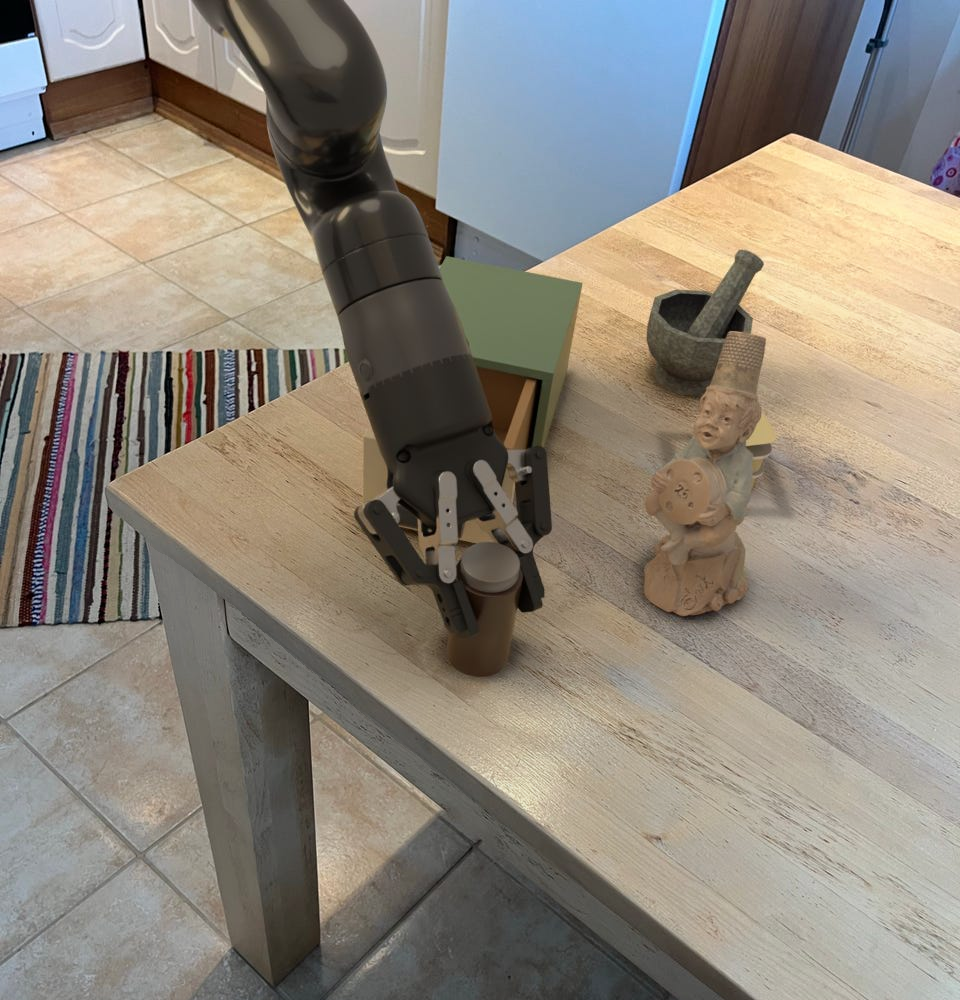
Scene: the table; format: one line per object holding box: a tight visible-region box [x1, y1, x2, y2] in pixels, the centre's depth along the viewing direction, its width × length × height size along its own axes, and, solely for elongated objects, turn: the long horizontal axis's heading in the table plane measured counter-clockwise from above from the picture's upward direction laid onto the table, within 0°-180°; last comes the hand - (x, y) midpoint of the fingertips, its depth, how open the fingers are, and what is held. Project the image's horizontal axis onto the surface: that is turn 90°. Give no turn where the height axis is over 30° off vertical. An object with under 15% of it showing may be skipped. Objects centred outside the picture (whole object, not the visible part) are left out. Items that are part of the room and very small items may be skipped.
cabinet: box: [439, 256, 583, 449], centre depth 86 cm, size 16×13×10 cm
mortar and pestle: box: [645, 249, 765, 397], centre depth 92 cm, size 11×9×12 cm
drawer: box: [362, 366, 539, 544], centre depth 76 cm, size 19×11×8 cm, turn 167°
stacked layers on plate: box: [745, 409, 777, 490], centre depth 84 cm, size 10×9×6 cm
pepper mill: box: [446, 542, 523, 678], centre depth 66 cm, size 4×4×9 cm
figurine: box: [643, 331, 767, 617], centre depth 69 cm, size 9×8×20 cm
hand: (500, 622), depth 65 cm, fingers closed on pepper mill, 4 cm apart
